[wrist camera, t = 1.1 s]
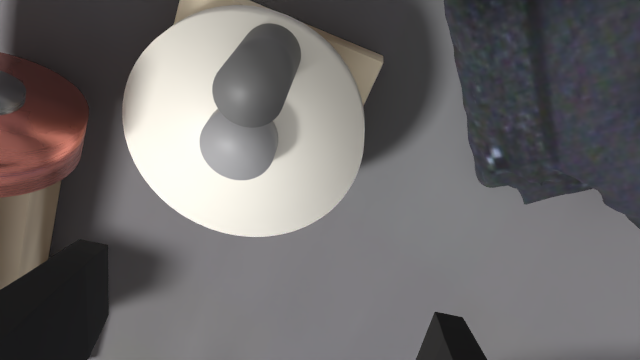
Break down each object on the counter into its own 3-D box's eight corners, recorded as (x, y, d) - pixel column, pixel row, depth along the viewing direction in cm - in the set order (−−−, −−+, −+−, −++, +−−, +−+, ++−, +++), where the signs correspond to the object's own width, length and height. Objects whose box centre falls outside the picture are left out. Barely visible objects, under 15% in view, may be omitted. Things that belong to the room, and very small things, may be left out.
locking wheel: (405, 63, 17) (414, 119, 13) (314, 249, 21) (301, 334, 17) (162, -37, 16) (97, -9, 12) (114, 176, 20) (52, 248, 16)
